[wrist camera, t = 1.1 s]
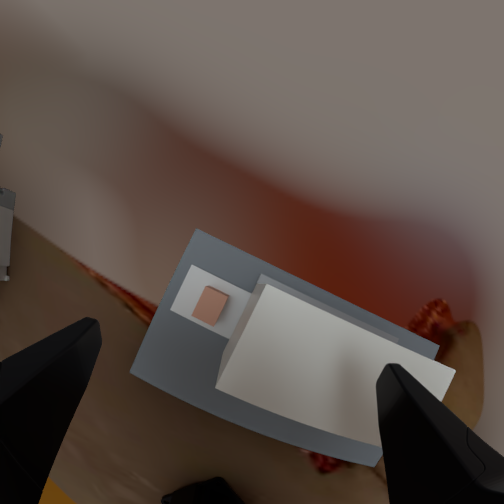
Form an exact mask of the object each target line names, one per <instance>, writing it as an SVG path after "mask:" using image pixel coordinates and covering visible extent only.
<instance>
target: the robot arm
mask: <svg viewBox="0 0 504 504" xmlns="http://www.w3.org/2000/svg"><path fill="white" fill-rule="evenodd" d="M101 345H102V338H101V331H100V325H99V322H98V320H96V319H93V318H89V317H85V318H83V319H81V320H79V321H77V322H75V323H73V324H71V325H69V326H67V327H65V328H64V329H62V330H60V331H58V332H56V333H54V334H52V335H50V336H48V337H46V338H44V339H42V340H40V341H39V342H37V343H35V344H33V345H31V346H29V347H27V348H25V349H23V350H21V351H19V352H18V353H16V354H14V355H12V356H10V357H8V358H6V359H4V360H3V361H2V362H0V504H38V503H39V500H40V498H41V494H42V490H43V489H44V486H45V483H46V481H47V478H48V476H49V473H50V470H51V468H52V465H53V463H54V460H55V458H56V455H57V453H58V451H59V448H60V446H61V443H62V441H63V439H64V436H65V434H66V432H67V429H68V427H69V425H70V423H71V420H72V418H73V416H74V414H75V411H76V409H77V407H78V405H79V403H80V400H81V398H82V396H83V394H84V392H85V390H86V387H87V385H88V382H89V380H90V377H91V374H92V371H93V368H94V365H95V362H96V359H97V357H98V354H99V351H100V348H101ZM376 398H377V412H378V426H379V433H380V439H381V445H382V451H383V457H384V464H385V471H386V478H387V486H388V494H389V502H390V504H504V457H503V456H502V455H501V454H499V453H498V452H497V451H495V450H494V449H493V448H492V447H490V446H489V445H488V444H487V443H485V442H484V441H483V440H482V439H481V438H480V437H479V436H477V435H476V434H475V433H474V432H473V431H472V430H471V429H470V428H469V427H467V425H466V424H464V423H463V422H462V421H461V420H460V419H459V418H458V417H457V416H456V415H455V414H454V413H453V412H451V411H450V410H449V409H448V408H447V407H446V406H445V405H444V404H443V403H442V402H441V401H440V400H438V399H437V398H436V397H435V396H434V395H433V394H432V393H431V392H430V391H429V390H427V389H426V388H425V387H424V386H423V385H422V384H421V383H420V382H419V381H418V380H417V379H415V378H414V377H413V376H412V375H411V374H410V373H409V372H408V371H407V370H406V369H404V368H403V367H402V366H401V365H400V364H398V363H387V364H386V365H385V367H384V368H383V370H382V372H381V374H380V376H379V377H378V379H377V382H376ZM216 482H220V484H218V483H216ZM165 500H167V501H169V502H166V501H165ZM161 503H162V504H245V503H244V502H243V501H242V500H241V499H240V498H239V496H238V495H237V494H236V493H235V492H234V491H233V490H232V489H231V488H230V486H229V485H228V484H227V483H226V482H225V481H224V479H222V478H220V477H216V478H213V479H211V480H208V481H206V482H203V483H201V484H194V485H192V486H189V487H186V488H183V489H180V490H178V491H175V492H173V494H170V495H167V496H164V497H162V499H161Z"/></svg>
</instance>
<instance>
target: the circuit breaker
mask: <svg viewBox="0 0 504 504" xmlns="http://www.w3.org/2000/svg"><path fill="white" fill-rule="evenodd" d="M2 138H3V136H2V135H1V134H0V146H1V142H2ZM15 197H16V193H15V192H12V191H10V190H8V189H6V188H0V280H4V281H9V276H7V266H9V265H10V246H11V232H12V222H13V213H14V211H13V210H14V204H15Z"/></svg>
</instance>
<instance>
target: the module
mask: <svg viewBox="0 0 504 504" xmlns="http://www.w3.org/2000/svg"><path fill="white" fill-rule="evenodd" d="M398 340H399V338H397V337H394V336H392V335H390V334H388V333H386V332H384V331H381V330H379V329H377V328H375V327H373V326H371V325H369V324H366V323H364V322H362V321H360V320H358V319H356V318H354V317H351V316H349V315H347V314H345V313H343V312H341V311H339V310H337V309H334V308H332V307H330V306H328V305H326V304H324V303H322V302H320V301H318V300H315V299H313V298H311V297H309V296H307V295H305V294H303V293H301V292H299V291H297V290H294V289H292V288H290V287H288V286H286V285H284V284H282V283H280V282H278V281H276V280H274V279H271V278H269V277H267V276H265V275H263V274H261V275H260V277H259V279H258V281H257V283H256V286H255V288H254V290H253V292H252V294H251V296H250V298H249V300H248V303H247V305H246V307H245V309H244V311H243V313H242V315H241V317H240V319H239V321H238V323H237V325H236V327H235V329H234V331H233V333H232V335H231V337H230V339H229V341H228V343H227V345H226V347H225V349H224V351H223V355H222V359H221V364H220V368H219V373H218V377H217V382H216V386H215V388H216V389H218V390H220V391H223V392H225V393H227V394H229V395H232V396H234V397H236V398H239V399H241V400H243V401H246V402H248V403H250V404H253V405H255V406H258V407H260V408H263V409H265V410H268V411H270V412H273V413H276V414H278V415H281V416H284V417H286V418H289V419H292V420H294V421H297V422H300V423H303V424H306V425H309V426H312V427H315V428H318V429H321V430H324V431H327V432H330V433H333V434H336V435H340V436H343V437H346V438H350V439H353V440H357V441H360V442H364V443H367V444H371V445H375V446H379V447H382V445H381V439H380V433H379V426H378V412H377V398H376V382H377V379H378V377H379V376H380V374H381V372H382V370H383V368H384V367H385V365H386V364H387V363H398V364H400V365H401V366H402V367H403V368H404V369H406V370H407V371H408V372H409V373H410V374H411V375H412V376H413V377H414V378H415V379H417V380H418V381H419V382H420V383H421V384H422V385H423V386H424V387H425V388H426V389H427V390H429V391H430V392H431V393H432V394H433V395H434V396H435V397H436V398H437V399H438V400H440V401H442V399H443V397H444V395H445V393H446V391H447V389H448V387H449V385H450V382H451V380H452V378H453V376H454V374H455V372H456V370H454V369H452V368H449V367H447V366H445V365H442V364H440V363H438V362H436V361H433V360H431V359H429V358H427V357H424V356H422V355H420V354H418V353H415V352H413V351H411V350H409V349H406V348H404V347H402V346H400V345H398V344H397V342H398Z"/></svg>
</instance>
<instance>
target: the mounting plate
mask: <svg viewBox="0 0 504 504" xmlns="http://www.w3.org/2000/svg"><path fill="white" fill-rule="evenodd" d="M261 274H263V275H265V276H267V277H269V278H271V279H274V280H276V281H278V282H280V283H282V284H284V285H286V286H288V287H290V288H292V289H294V290H297V291H299V292H301V293H303V294H305V295H307V296H309V297H311V298H313V299H315V300H318V301H320V302H322V303H324V304H326V305H328V306H330V307H332V308H334V309H337V310H339V311H341V312H343V313H345V314H347V315H349V316H351V317H354V318H356V319H358V320H360V321H362V322H364V323H366V324H369V325H371V326H373V327H375V328H377V329H379V330H381V331H384V332H386V333H388V334H390V335H392V336H394V337H397V338H399V340H398V342H397V344H398V345H400V346H402V347H404V348H406V349H409V350H411V351H413V352H415V353H418V354H420V355H422V356H424V357H427V358H429V359H431V360H434V358H435V356H436V353H437V351H438V349H439V345H437V344H435V343H433V342H431V341H429V340H427V339H424V338H422V337H420V336H418V335H416V334H414V333H412V332H410V331H408V330H406V329H404V328H402V327H399V326H397V325H395V324H393V323H391V322H389V321H387V320H385V319H383V318H381V317H378V316H377V315H375V314H372V313H370V312H368V311H366V310H364V309H362V308H360V307H358V306H356V305H354V304H351V303H350V302H347V301H345V300H343V299H341V298H339V297H337V296H335V295H333V294H331V293H329V292H327V291H325V290H322V289H320V288H318V287H316V286H314V285H312V284H310V283H308V282H306V281H304V280H302V279H300V278H298V277H296V276H294V275H292V274H289V273H287V272H285V271H283V270H281V269H279V268H277V267H275V266H273V265H271V264H269V263H267V262H265V261H263V260H260V259H259V258H256V257H254V256H252V255H250V254H248V253H246V252H244V251H242V250H240V249H238V248H236V247H234V246H232V245H230V244H228V243H225V242H223V241H221V240H219V239H217V238H215V237H213V236H211V235H209V234H207V233H205V232H203V231H200V230H199V229H197V228H196V230H195V232H194V234H193V236H192V238H191V240H190V242H189V244H188V246H187V248H186V250H185V252H184V254H183V256H182V258H181V260H180V262H179V264H178V266H177V268H176V270H175V273H174V275H173V277H172V279H171V281H170V283H169V285H168V287H167V289H166V291H165V294H164V296H163V298H162V300H161V302H160V304H159V306H158V309H157V311H156V313H155V315H154V317H153V320H152V322H151V324H150V326H149V328H148V331H147V333H146V335H145V337H144V340H143V342H142V344H141V346H140V349H139V351H138V353H137V356H136V358H135V360H134V363H133V365H132V367H131V370H130V373H131V374H133V375H135V376H137V377H139V378H140V379H142V380H144V381H146V382H148V383H150V384H151V385H153V386H155V387H157V388H159V389H161V390H163V391H165V392H167V393H169V394H171V395H173V396H175V397H177V398H179V399H181V400H183V401H185V402H187V403H189V404H191V405H193V406H196V407H198V408H200V409H202V410H204V411H206V412H209V413H211V414H213V415H216V416H218V417H220V418H222V419H225V420H227V421H230V422H232V423H234V424H237V425H239V426H242V427H244V428H247V429H250V430H252V431H255V432H257V433H260V434H263V435H265V436H268V437H271V438H274V439H277V440H280V441H282V442H285V443H288V444H291V445H294V446H297V447H301V448H304V449H307V450H310V451H314V452H317V453H320V454H324V455H327V456H331V457H335V458H338V459H342V460H346V461H350V462H354V463H358V464H363V465H367V466H371V467H375V465H376V464H377V462H378V461H379V459H380V458H381V456H382V455H383V451H382V447H379V446H375V445H371V444H367V443H364V442H360V441H357V440H353V439H350V438H346V437H343V436H340V435H336V434H333V433H330V432H327V431H324V430H321V429H318V428H315V427H312V426H309V425H306V424H303V423H300V422H297V421H294V420H292V419H289V418H286V417H284V416H281V415H278V414H276V413H273V412H270V411H268V410H265V409H263V408H260V407H258V406H255V405H253V404H250V403H248V402H246V401H243V400H241V399H239V398H236V397H234V396H232V395H229V394H227V393H225V392H223V391H220V390H218V389H216V388H215V386H216V382H217V377H218V373H219V368H220V364H221V359H222V355H223V351H224V349H225V347H226V345H227V343H228V341H229V339H230V337H231V335H232V333H233V331H234V329H235V327H236V325H237V323H238V321H239V319H240V317H241V315H242V313H243V311H244V309H245V307H246V305H247V303H248V300H249V298H250V296H251V294H252V292H253V290H254V288H255V286H256V283H257V281H258V279H259V277H260V275H261Z"/></svg>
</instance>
